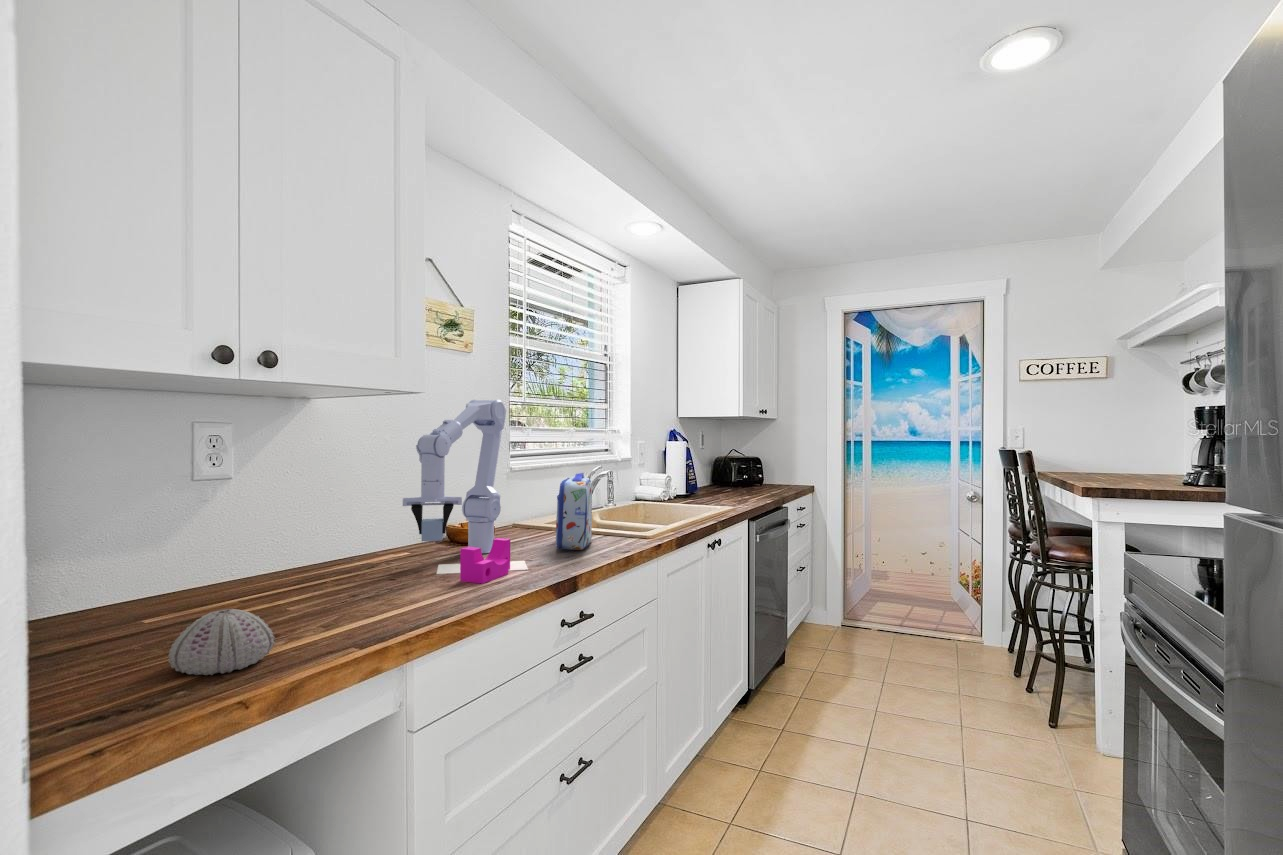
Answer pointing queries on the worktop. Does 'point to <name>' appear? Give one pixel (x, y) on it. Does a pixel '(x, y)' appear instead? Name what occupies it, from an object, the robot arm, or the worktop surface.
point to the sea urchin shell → (221, 643)
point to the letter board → (456, 567)
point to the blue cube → (432, 529)
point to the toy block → (485, 562)
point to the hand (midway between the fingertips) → (432, 533)
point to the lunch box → (574, 513)
